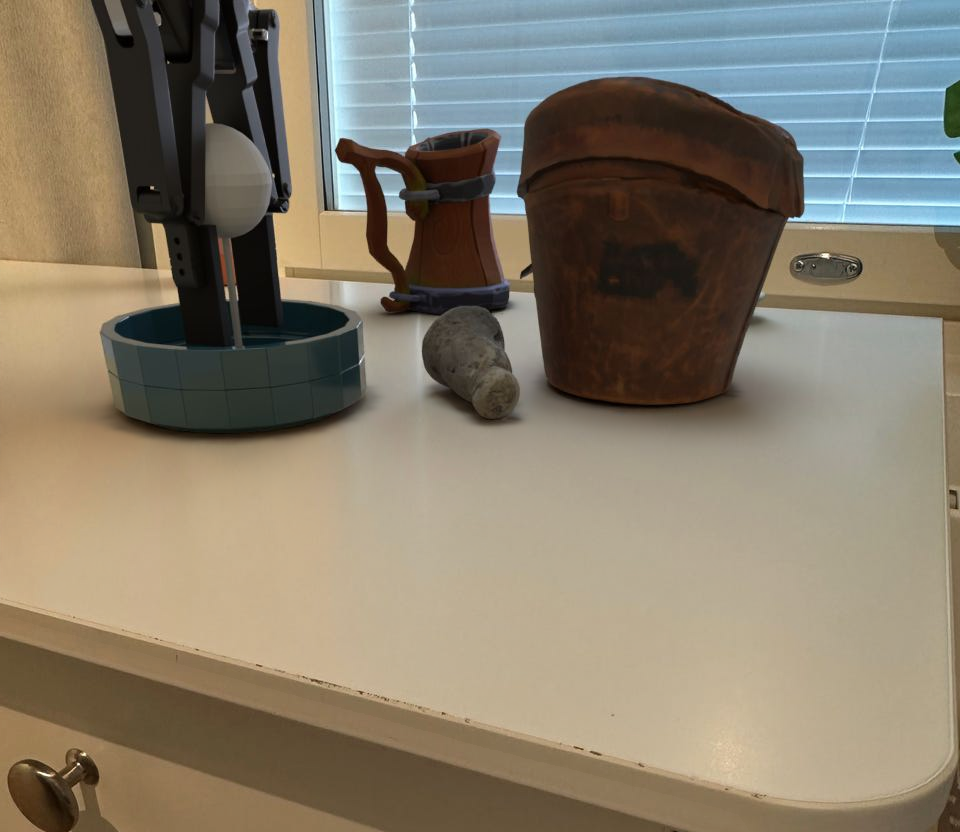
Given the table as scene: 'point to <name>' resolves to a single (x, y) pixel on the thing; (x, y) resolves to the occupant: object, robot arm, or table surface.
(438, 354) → the stone
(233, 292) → the lollipop
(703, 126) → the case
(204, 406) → the bowl
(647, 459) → the table surface
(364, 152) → the mug
